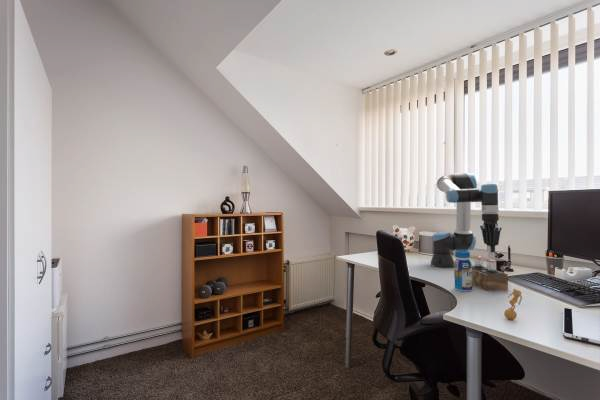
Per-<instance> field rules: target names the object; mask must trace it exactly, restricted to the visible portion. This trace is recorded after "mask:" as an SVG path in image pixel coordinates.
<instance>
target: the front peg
mask: <svg viewBox="0 0 600 400" xmlns="http://www.w3.org/2000/svg"><path fill="white" fill-rule="evenodd" d="M488 259H489V258H488ZM488 259H487V260H486V267H487V272H489V273H496V260H491V259H489V260H488Z"/></svg>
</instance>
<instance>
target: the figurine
mask: <svg viewBox="0 0 600 400" xmlns="http://www.w3.org/2000/svg"><path fill="white" fill-rule="evenodd" d="M512 295H513V297H512V298H511V299H510V300H509V304H510V305H511V306H510V307H509V308H507V309H505V310H504V312H503V315H504V317H505V318H506V319H507V320H510V321H513V320H515V319H516V318H517V313H516V311H515V309H516V305H515V304H516V303H517V305H521V302H522V299H523V295H522V292H521V290H518V289H516V288H513V290H512V292H511V293H510V294H509V295H508V296H507V299H508V298H510V297H511V296H512ZM518 301H519V302H518Z"/></svg>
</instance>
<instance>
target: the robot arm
mask: <svg viewBox="0 0 600 400" xmlns="http://www.w3.org/2000/svg"><path fill="white" fill-rule="evenodd" d="M436 186H437V188H438V190H439V191H441V192H443V193H445V199H446V202H447V203H449V204H450V203H452V204H456V214H455V215H456V217H455V218H456V221H455V223H456V224H455V225H456V227H455V229H454V231H453V233H452V232H450V231H441V232H439V231H438V232H435V233H434V234H433V235H432V253H433V254H432V257H431V260H430V266H432V265H434V266H433V267H437V266H438V267H439V268H452V267H453V268H454V267H455V265H454V262H455V260H454V259H453V256H452V251H454V252H455V251H457V250H464V251H469V252H470V251H473V250H474V249H475V247H476V244H477V238H476V234H474V232H473V230H471V212H472V211H471V210H472V209H471V206H472V205H471V204H472V203H480V204H481V213H482V214H481V221H483V225H479V228H480V231H481V235H482V240H483V244H484V245H486V248H487V250H486V251H487V259H489V258H490V259H491V258H496V255H495V254H496V246H499V242H500V236H501V231H502V229H503V228H502V227H500V226H498V225H499V224H498V222H499V212H500V211H499V190H498V189H499V188H498V184H496V183H485V184H484V183H483V184H481V185H480V188H477V187H478V181H477V177H476V176H475V174H474V173H472V172H470V173H469V172H459V173H447V174H444V175H442V176H441V177H440V178H438V179H437V182H436ZM438 267H437V268H438Z"/></svg>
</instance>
